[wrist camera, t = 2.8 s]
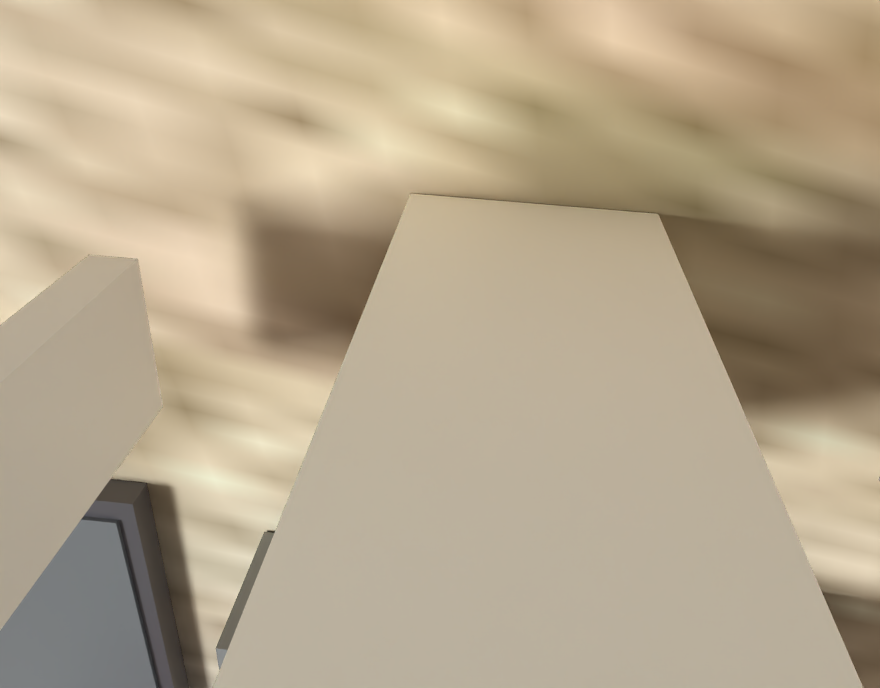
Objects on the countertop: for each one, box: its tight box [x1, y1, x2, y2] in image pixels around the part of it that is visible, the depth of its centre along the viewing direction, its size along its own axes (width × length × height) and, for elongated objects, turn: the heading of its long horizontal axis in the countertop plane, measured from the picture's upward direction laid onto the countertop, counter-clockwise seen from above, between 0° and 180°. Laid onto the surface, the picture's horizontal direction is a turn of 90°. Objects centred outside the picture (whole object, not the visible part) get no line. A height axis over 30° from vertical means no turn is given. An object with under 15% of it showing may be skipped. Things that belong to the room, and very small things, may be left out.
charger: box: [213, 193, 863, 688], centre depth 9 cm, size 4×4×10 cm
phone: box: [0, 479, 189, 688], centre depth 20 cm, size 14×7×1 cm, turn 177°
